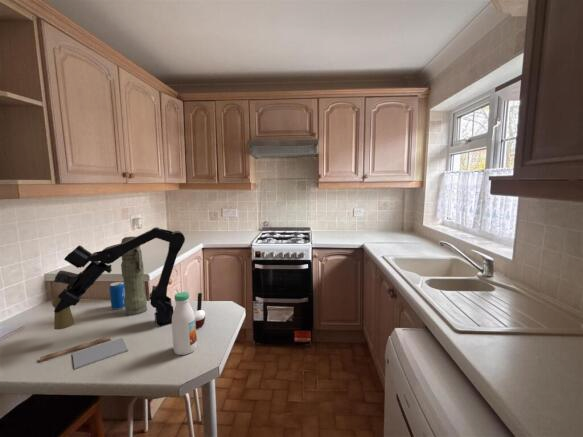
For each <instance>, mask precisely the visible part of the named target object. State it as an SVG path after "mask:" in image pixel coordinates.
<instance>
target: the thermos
mask: <svg viewBox="0 0 583 437" xmlns="http://www.w3.org/2000/svg"><path fill="white" fill-rule="evenodd" d="M135 237H136V236H125V237H123V238H122V239H121V242H120V243H124V242H126V241H128V240H130V239H133V238H135ZM142 255H143V254H142V250H141V245H140V246H138V247H136V248H134V249H132V250H130V251H128V252H127V253H125V254H124V255H122V256H121V264H120V267H121V268H120V269H121V276H122V278H123V282H124V288H125V299H124V303H125V308H124V309H125V314H126V315H127V316H137V315H140V314H143V313H145V312H147V310H148V308H147V307H148V306H147V304H148V301H147V295H146V293H145V283H144V273H145V270H144V261H143V256H142Z"/></svg>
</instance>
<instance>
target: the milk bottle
mask: <svg viewBox="0 0 583 437" xmlns="http://www.w3.org/2000/svg"><path fill="white" fill-rule="evenodd" d="M189 300H190V294H189V292H187V291H181V292H178V293H175V294H174V302H175V306H174V308H173V315H172V323H171V329H172V330H171V331H172V332H171V333H172V344H173V352H174V353H175V354H176V355H177V356H178V355H179V356H183V355H189V354H191V353H193V352H194V351H196V349H197V348H198V339H197V338H198V337H197V335H198V334H197V328H196V321H195V314H194V312H195V311H194V310H193V308H192V306H191V304H190V301H189Z"/></svg>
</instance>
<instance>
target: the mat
mask: <svg viewBox="0 0 583 437" xmlns="http://www.w3.org/2000/svg"><path fill="white" fill-rule="evenodd" d="M128 351H129V349H128V347H127V345H126V343H125V340H124V339H123V337H120V338H117V339H113V340H110V341H107V342H104V343H101V344H98V345H94V346H91V347H88V348H85V349H82V350H78V351H75V352H72V361H73V368H74V370H77V369H81V368H83V367H86V366H89V365H91V364H94V363H97V362H100V361H103V360H106V359H109V358H112V357H115V356H118V355H120V354H121V355H122V354H123V353H126V352H128Z"/></svg>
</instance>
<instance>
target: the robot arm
mask: <svg viewBox="0 0 583 437" xmlns="http://www.w3.org/2000/svg"><path fill="white" fill-rule="evenodd" d="M134 237H135V238H133V239H130V240H128V241H126V242H124V243H121V242H120V243H117V244H113V245H110V246H107V247H105V248H103V249H102V250H100V251H95V252H93V253H92V252H90V251H88V250H87V249H86V248H85V247H84V246H82V245H77V246H76V248H74V249H73V250H72V251H71V252H69V253H68V254H67V255H66V256H65V257H64V258H63V260H64V261H65V262H67V263H69V264H70V265H72V266H74V267H76V268H77V269H79V268H80V269H81V268H84V269H83V270H82V271H80V272H79V273H78V274H77V273H76V272H75V273H74V272H70V271H67V270H66V271H65V270H59V271H58V272H57V273H56V275H55V277H54V281H53V282H55V283H61V284H65V285H67V286H66V288H64V289H63V290H62V291H61V292H60V293H59V294H58V296H57V297H59V298H60V299H61V301H60V302H59V304H58V305H57V307H56V309H55V308H54V311H53V312H54V313H55V312H56V313H58V312H59V311H61V310H63V309H65V308H67V307H72V306H74V307H75V306H76V305H77V304H78V303H79V302H80V301H81V299H82V296H83V295H85V293H86V292H87V291H88V289H89V288H90V287H91V286H93V285H94V283H95V282H97V280H98V279H99V278H100V277H101V275H103V273H104V272H106V273H108V274H111V272H112V266H113V265H112V263H114V262H115V261H117V260H118V259H120V258H122V255H124V254H125V253H127V252H128V251H130V250H132V249H134V248H136V247H138V246H140V247H141V246H142V245H144V244H146V243H149V242H151V241H153V240H155V239H158V240H162V241H164V242H167V243H168V251H167V254H166V257H165V260H164V264H163V267H162V270H161V273H160V277H159V280H158V282H157V284H156V285H152V288H151V291H150V293H149V299H148V301H149V300H150V305H151V307H152V308H155V312H154V313H153V314H154V322H155V324H157V326H158V327H163V326H166V325H169V324H172V315H173V312H174V306H173V305H172V298H171V297H169V296H167V294H168V285H169V282H170V279H171V276H172V272H173V269H174V267H175V263H176V261H177V260H176V259H177V256H178V254H179V252H181V249H182V247H183V245H184V244H185V240H186V237H185V235H184V233H183V232H182V231H180V230H175V231H174V230H173V231H171V230H168V229H164V228H163V229H162V228H160V227H155V226H154V227H153V228H151V229H150V230H147V231H145V232H144V233H141V234H139V235H137V236H134ZM88 263H89V264H88ZM85 266H86V267H85Z"/></svg>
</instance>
